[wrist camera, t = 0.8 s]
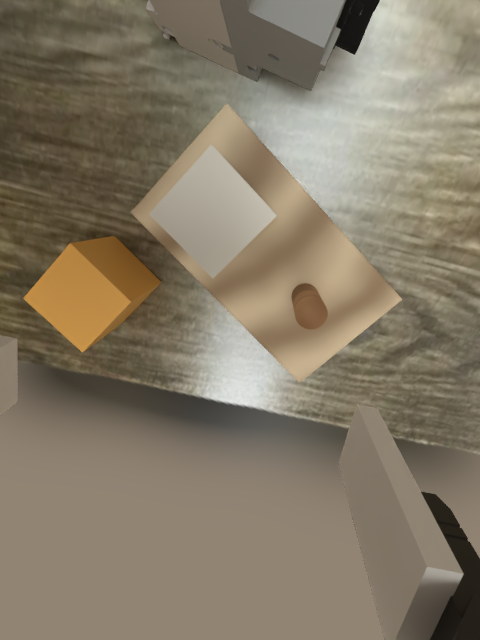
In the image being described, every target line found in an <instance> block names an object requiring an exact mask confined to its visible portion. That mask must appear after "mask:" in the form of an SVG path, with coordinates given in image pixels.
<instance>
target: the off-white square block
mask: <svg viewBox="0 0 480 640" xmlns="http://www.w3.org/2000/svg"><path fill="white" fill-rule="evenodd" d="M149 214H150V215H151V216H152V217H153V218H154V219H155V221H156V222H157V223H158V224H159V225H160V226H161V227H162V228H163V229H164V230H165V231H166V232H167V233H168V234H169V235H170V236H171V237H172V238H173V239H174V240H175V241H176V242H177V243H178V244H179V245H180V246H181V247H182V248H183V249H184V250H185V251H186V252H187V253H188V254H189V255H190V256H191V257H192V258H193V259H194V260H195V261H196V262H197V263H198V264H199V265H200V266H201V267H202V268H203V269H204V270H205V271H206V272H207V273H208V274H209V275H210V276H211V277H212V278H214V277H215V276H216V275H217V274H218V273H219V272H220V271H221V270H222V269H223V268H224V267H225V266H226V265H227V264H228V263H229V262H230V261H231V260H232V259H233V258H234V257H235V256H237V255H238V254H239V253H240V252H241V251H242V250H243V249H244V248H245V247H246V246H247V245H248V244H249V243H250V242H251V241H252V240H253V239H254V238H255V237H256V236H257V235H258V234H259V233H260V232H261V231H262V230H263V229H264V228H265V227H266V226H267V225H268V224H269V223H270V222H271V221H272V220H273V219H274V218H275V217H276V216H277V215H276V213H275V212H274V211H273V210H272V209H271V208H270V207H269V206H268V205H267V204H266V203H265V202H264V200H263V199H262V198H261V197H260V196H259V195H258V194H257V193H256V192H255V191H254V190H253V188H252V187H251V186H250V185H249V184H248V183H247V182H246V181H245V180H244V179H243V178H242V176H241V175H240V174H239V173H238V172H237V171H236V170H235V169H234V168H233V167H232V166H231V165H230V163H229V162H228V161H227V160H226V159H225V158H224V157H223V156H222V155H221V154H220V153H219V152H218V151H217V150H216V148H215V147H214V146H213V145H212V144H211V145H210V147H209V148H208V149H207V150H206V151H205V152H204V153H203V154H202V156H201V157H200V158H199V159H198V160H197V161H196V162H195V163H194V164H193V166H192V167H191V168H190V169H189V170H188V171H187V172H186V173H185V174H184V176H183V177H182V178H181V179H180V180H179V181H178V182H177V183H176V184H175V186H174V187H173V188H172V189H171V190H170V191H169V192H168V193H167V195H166V196H165V197H164V198H163V199H162V200H161V201H160V202H159V203H158V205H157V206H156V207H155V208H154V209H153V210H152V211H151V212H150V213H149Z"/></svg>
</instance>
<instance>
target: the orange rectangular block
mask: <svg viewBox="0 0 480 640" xmlns="http://www.w3.org/2000/svg"><path fill="white" fill-rule="evenodd" d="M160 283H161V281H160V280H159V279H158V278H157V277H156V276H155V275H154V274H153V273H152V272H151V271H150V270H149V269H148V268H147V267H146V266H145V265H144V264H143V263H142V262H141V261H140V260H139V259H138V258H136V257H135V256H134V255H133V254H132V253H131V252H130V251H129V250H128V249H127V248H126V247H125V246H124V245H123V244H122V243H121V242H120V241H119V240H118V239H117V238H116V237H115V236H111V237H105V238H99V239H93V240H86V241H80V242H74V243H70V244H69V245H68V246H67V247H66V249H65V250H64V251H63V252H62V253H61V255H60V256H59V257H58V258H57V259H56V260H55V262H54V263H53V264H52V265H51V266H50V268H49V269H48V270H47V271H46V272H45V273H44V275H43V276H42V277H41V278H40V279H39V281H38V282H37V283H36V284H35V285H34V286H33V288H32V289H31V290H30V291H29V292H28V293H27V295H26V296H25V297H24V298H23V299H24V300H26V301H27V302H28V303H29V304H30V305H31V306H32V307H33V308H34V309H35V310H36V311H38V312H39V313H40V314H41V315H42V316H43V317H44V318H45V319H46V320H47V321H48V322H50V323H51V324H52V325H53V326H54V327H55V328H56V329H57V330H58V331H59V332H61V333H62V334H63V335H64V336H65V337H66V338H67V339H68V340H69V341H70V342H71V343H73V344H74V345H75V346H76V347H77V348H78V349H79V350H80V351H81V352H82V353H83V352H84V351H85V350H87V349H88V348H89V347H91V346H92V345H93V344H95V343H96V342H97V341H99V340H100V339H102V338H103V337H104V336H106V335H107V334H108V333H110V332H111V331H112V330H114V329H115V328H116V327H118V326H119V325H120V324H122V323H123V322H124V321H125V320H126V319H127V317H128V316H129V315H130V314H131V313H132V312H133V311H134V310H135V309H136V308H137V307H138V306H139V305H140V304H141V303H142V302H143V301H144V300H145V299H146V298H147V297H148V296H149V295H150V294H151V293H152V292H153V291H154V290H155V289H156V288H157V287H158V286H159V284H160Z"/></svg>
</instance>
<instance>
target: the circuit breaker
mask: <svg viewBox="0 0 480 640" xmlns="http://www.w3.org/2000/svg"><path fill="white" fill-rule="evenodd" d="M379 1H380V0H148V3H147V6H146V10H147V12H148V13H149V15H150V17H151V18H152V20H153V21H154V23H155V25H156V26H157V28H158V29H159V30H161V31H163V32H164V34H163V37H164V38H165V39H167V40H170V37H171V36H173V37H175V38H176V40H177V42H178V44H179V45H180V46H182V47H184V48H186V49H188V50H190V51H192V52H194V53H197V54H199V55H201V56H203V57H205V58H207V59H209V60H212V61H214V62H216V63H218V64H220V65H222V66H224V67H226V68H229V69H231V70H233V71H235V72H237V73H239V74H241V75H244V76H246V77H248V78H250V79H252V80H254V81H258V78H259V75H260V73H261V70H262V68H263V69H265V70H267V71H269V72H271V73H273V74H276V75H278V76H280V77H282V78H284V79H286V80H288V81H291V82H293V83H295V84H297V85H299V86H301V87H303V88H306V89H308V90H310V91H311V90H312V88H313V85H314V83H315V81H316V78H317V76H318V74H319V71H320V69H321V70H324V68H325V66H326V63H327V61H328V59H329V56H330V54H331V52H332V50H333V49H334V48H335V46H338V47H340V48H342V49H344V50H346V51H348V52H350V53H352V54H354V55H355V53H356V51H357V49H358V47H359V45H360V43H361V40H362V38H363V35H364V33H365V30H366V28H367V25H368V23H369V21H370V18H371V16H372V13H373V11H375V9H376V7H377V5H378V3H379Z"/></svg>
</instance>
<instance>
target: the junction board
mask: <svg viewBox="0 0 480 640" xmlns="http://www.w3.org/2000/svg"><path fill="white" fill-rule="evenodd" d="M211 144H212V145H213V146H214V147H215V148H216V150H217V151H218V152H219V153H220V154H221V155H222V156H223V157H224V158H225V159H226V160H227V161H228V162H229V163H230V165H231V166H232V167H233V168H234V169H235V170H236V171H237V172H238V173H239V174H240V175H241V176H242V178H243V179H244V180H245V181H246V182H247V183H248V184H249V185H250V186H251V187H252V188H253V190H254V191H255V192H256V193H257V194H258V195H259V196H260V197H261V198H262V199H263V200H264V202H265V203H266V204H267V205H268V206H269V207H270V208H271V209H272V210H273V211H274V212H275V213H276V215H277V216H276V217H275V218H274V219H273V220H272V221H271V222H270V223H269V224H268V225H267V226H266V227H265V228H264V229H263V230H262V231H261V232H260V233H259V234H258V235H257V236H256V237H255V238H254V239H253V240H252V241H251V242H250V243H249V244H248V245H247V246H246V247H245V248H244V249H243V250H242V251H241V252H240V253H239V254H238V255H237V256H235V257H234V258H233V259H232V260H231V261H230V262H229V263H228V264H227V265H226V266H225V267H224V268H223V269H222V270H221V271H220V272H219V273H218V274H217V275H216V276H215V277H214V278H212V277H211V276H210V275H209V274H208V273H207V272H206V271H205V270H204V269H203V268H202V267H201V266H200V265H199V264H198V263H197V262H196V261H195V260H194V259H193V258H192V257H191V256H190V255H189V254H188V253H187V252H186V251H185V250H184V249H183V248H182V247H181V246H180V245H179V244H178V243H177V242H176V241H175V240H174V239H173V238H172V237H171V236H170V235H169V234H168V233H167V232H166V231H165V230H164V229H163V228H162V227H161V226H160V225H159V224H158V223H157V222H156V221H155V219H154V218H153V217H152V216H151V215H150V214H149V213H150V212H151V211H152V210H153V209H154V208H155V207H156V206H157V205H158V203H159V202H160V201H161V200H162V199H163V198H164V197H165V196H166V195H167V193H168V192H169V191H170V190H171V189H172V188H173V187H174V186H175V184H176V183H177V182H178V181H179V180H180V179H181V178H182V177H183V176H184V174H185V173H186V172H187V171H188V170H189V169H190V168H191V167H192V166H193V164H194V163H195V162H196V161H197V160H198V159H199V158H200V157H201V156H202V154H203V153H204V152H205V151H206V150H207V149H208V148H209V147H210V145H211ZM131 213H132V214H133V215H134V216H135V217H136V218H137V219H138V220H139V221H140V222H141V223H142V225H143V226H144V227H145V228H146V229H147V230H148V231H149V232H150V233H151V234H152V235H153V236H154V237H155V238H156V239H157V240H158V241H159V242H160V243H161V244H162V245H163V246H164V247H165V248H166V249H167V250H168V251H169V252H170V253H171V254H172V255H173V256H174V257H175V258H176V259H177V260H178V261H179V262H180V263H181V264H182V265H183V266H184V267H185V268H186V269H187V270H188V271H189V272H190V273H191V274H192V275H193V276H194V277H195V278H196V279H197V280H198V281H199V282H200V283H201V284H202V285H203V286H204V287H205V288H206V289H207V290H208V291H209V292H210V293H211V294H212V295H213V296H214V297H215V298H216V299H217V300H218V301H219V302H220V303H221V304H222V305H223V306H224V307H225V308H226V309H227V310H228V311H229V312H230V313H231V314H232V315H233V316H234V317H235V318H236V319H237V320H238V321H239V322H240V323H241V324H242V325H243V326H244V327H245V328H246V329H247V330H248V331H249V332H250V333H251V334H252V335H253V336H254V337H255V338H256V339H257V340H258V341H259V342H260V343H261V344H262V345H263V346H264V347H265V348H266V349H267V350H268V351H269V352H270V353H271V355H272V356H273V357H274V358H275V359H276V360H277V361H278V362H279V363H280V364H281V365H282V366H283V367H284V368H285V369H286V370H287V371H288V372H289V373H290V374H291V375H292V376H293V377H294V378H295V379H296V380H297V381H298V382H299V383H300V382H301V381H303V380H304V379H305V378H306V377H308V376H309V375H310V374H311V373H312V372H314V371H315V370H316V369H317V368H319V367H320V366H321V365H322V364H324V363H325V362H326V361H327V360H328V359H330V358H331V357H332V356H333V355H335V354H336V353H337V352H338V351H339V350H341V349H342V348H343V347H344V346H346V345H347V344H348V343H349V342H351V341H352V340H353V339H354V338H355V337H357V336H358V335H359V334H360V333H362V332H363V331H364V330H365V329H367V328H368V327H369V326H370V325H371V324H373V323H374V322H375V321H376V320H378V319H379V318H380V317H381V316H383V315H384V314H385V313H386V312H387V311H389V310H390V309H391V308H392V307H394V306H395V305H396V304H397V303H399V302H400V301H401V300H402V298H401V297H400V296H399V295H398V294H397V293H396V292H395V291H394V290H393V288H392V287H391V286H390V285H389V284H388V283H387V282H386V281H385V279H384V278H383V277H382V276H381V275H380V274H379V273H378V272H377V270H376V269H375V268H374V267H373V266H372V265H371V264H370V263H369V262H368V260H367V259H366V258H365V257H364V256H363V255H362V254H361V253H360V251H359V250H358V249H357V248H356V247H355V246H354V245H353V244H352V243H351V241H350V240H349V239H348V238H347V237H346V236H345V235H344V234H343V232H342V231H341V230H340V229H339V228H338V227H337V226H336V225H335V223H334V222H333V221H332V220H331V219H330V218H329V217H328V216H327V215H326V213H325V212H324V211H323V210H322V209H321V208H320V207H319V206H318V204H317V203H316V202H315V201H314V200H313V199H312V198H311V197H310V196H309V194H308V193H307V192H306V191H305V190H304V189H303V188H302V187H301V185H300V184H299V183H298V182H297V181H296V180H295V179H294V178H293V176H292V175H291V174H290V173H289V172H288V171H287V170H286V169H285V168H284V166H283V165H282V164H281V163H280V162H279V161H278V160H277V159H276V157H275V156H274V155H273V154H272V153H271V152H270V151H269V150H268V149H267V147H266V146H265V145H264V144H263V143H262V142H261V141H260V140H259V138H258V137H257V136H256V135H255V134H254V133H253V132H252V131H251V129H250V128H249V127H248V126H247V125H246V124H245V123H244V122H243V121H242V119H241V118H240V117H239V116H238V115H237V114H236V113H235V112H234V110H233V109H232V108H231V107H230V106H229V105H228V104H227V103H226V105H225V106H224V107H223V108H222V109H221V110H220V111H219V112H218V114H217V115H216V116H215V117H214V118H213V119H212V120H211V122H210V123H209V124H208V125H207V126H206V127H205V128H204V130H203V131H202V132H201V133H200V134H199V135H198V136H197V138H196V139H195V140H194V141H193V142H192V143H191V144H190V145H189V147H188V148H187V149H186V150H185V151H184V152H183V153H182V155H181V156H180V157H179V158H178V159H177V160H176V161H175V163H174V164H173V165H172V166H171V167H170V168H169V169H168V171H167V172H166V173H165V174H164V175H163V176H162V177H161V178H160V180H159V181H158V182H157V183H156V184H155V185H154V186H153V188H152V189H151V190H150V191H149V192H148V193H147V194H146V196H145V197H144V198H143V199H142V200H141V201H140V202H139V204H138V205H137V206H136V207H135V208H134V209H133V210H132V211H131Z"/></svg>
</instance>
